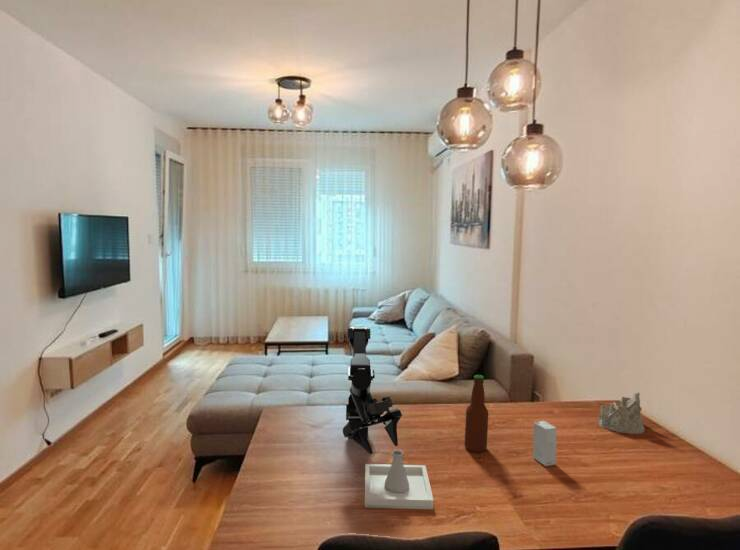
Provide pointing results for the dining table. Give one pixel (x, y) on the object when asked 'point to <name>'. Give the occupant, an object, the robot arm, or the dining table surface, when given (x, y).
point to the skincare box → (544, 443)
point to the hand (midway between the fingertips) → (384, 449)
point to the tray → (410, 499)
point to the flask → (397, 474)
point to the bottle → (476, 418)
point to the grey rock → (623, 416)
